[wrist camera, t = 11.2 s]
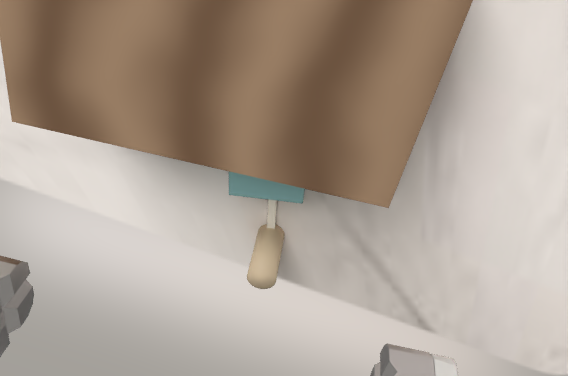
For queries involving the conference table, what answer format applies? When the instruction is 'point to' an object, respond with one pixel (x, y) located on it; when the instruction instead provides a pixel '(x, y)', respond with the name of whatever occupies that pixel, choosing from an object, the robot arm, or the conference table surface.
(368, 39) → the walnut shelf
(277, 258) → the tethered block
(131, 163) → the conference table surface
